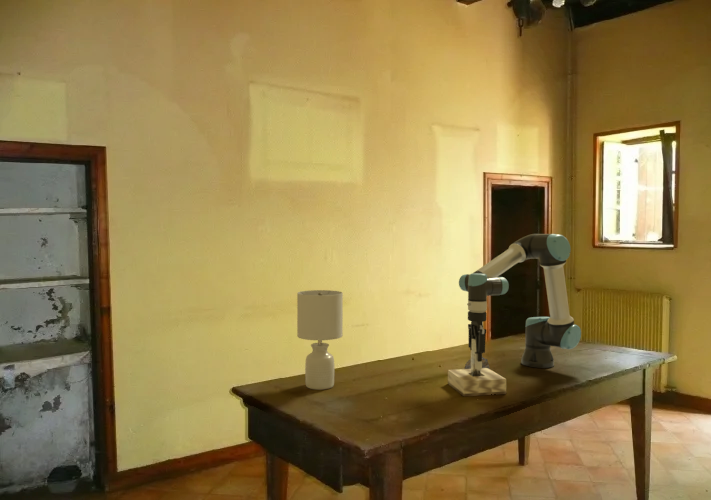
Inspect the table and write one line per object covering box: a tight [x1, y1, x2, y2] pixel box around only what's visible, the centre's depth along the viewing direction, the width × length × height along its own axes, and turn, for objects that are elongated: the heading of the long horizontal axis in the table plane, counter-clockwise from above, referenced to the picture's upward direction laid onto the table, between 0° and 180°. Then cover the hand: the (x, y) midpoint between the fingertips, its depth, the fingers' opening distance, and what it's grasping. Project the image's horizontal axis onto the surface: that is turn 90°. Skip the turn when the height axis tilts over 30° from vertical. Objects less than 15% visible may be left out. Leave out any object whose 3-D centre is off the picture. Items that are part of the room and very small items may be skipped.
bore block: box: [447, 368, 507, 397], centre depth 237 cm, size 18×18×6 cm
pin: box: [470, 338, 481, 376], centre depth 237 cm, size 4×4×16 cm
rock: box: [464, 356, 491, 370], centre depth 260 cm, size 11×10×10 cm
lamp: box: [296, 289, 344, 391], centre depth 239 cm, size 19×19×39 cm
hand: (476, 367), depth 237 cm, fingers closed on pin, 4 cm apart
